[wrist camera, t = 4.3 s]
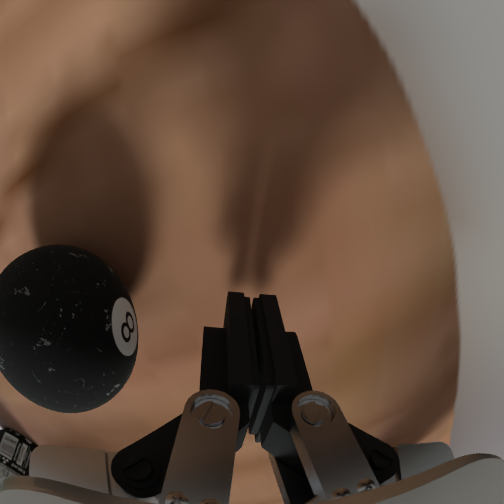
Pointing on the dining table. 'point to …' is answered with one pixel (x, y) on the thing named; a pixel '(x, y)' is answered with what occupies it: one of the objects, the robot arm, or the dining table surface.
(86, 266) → the billiard ball
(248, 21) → the dining table surface
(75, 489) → the robot arm
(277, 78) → the dining table surface
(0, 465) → the beverage can
